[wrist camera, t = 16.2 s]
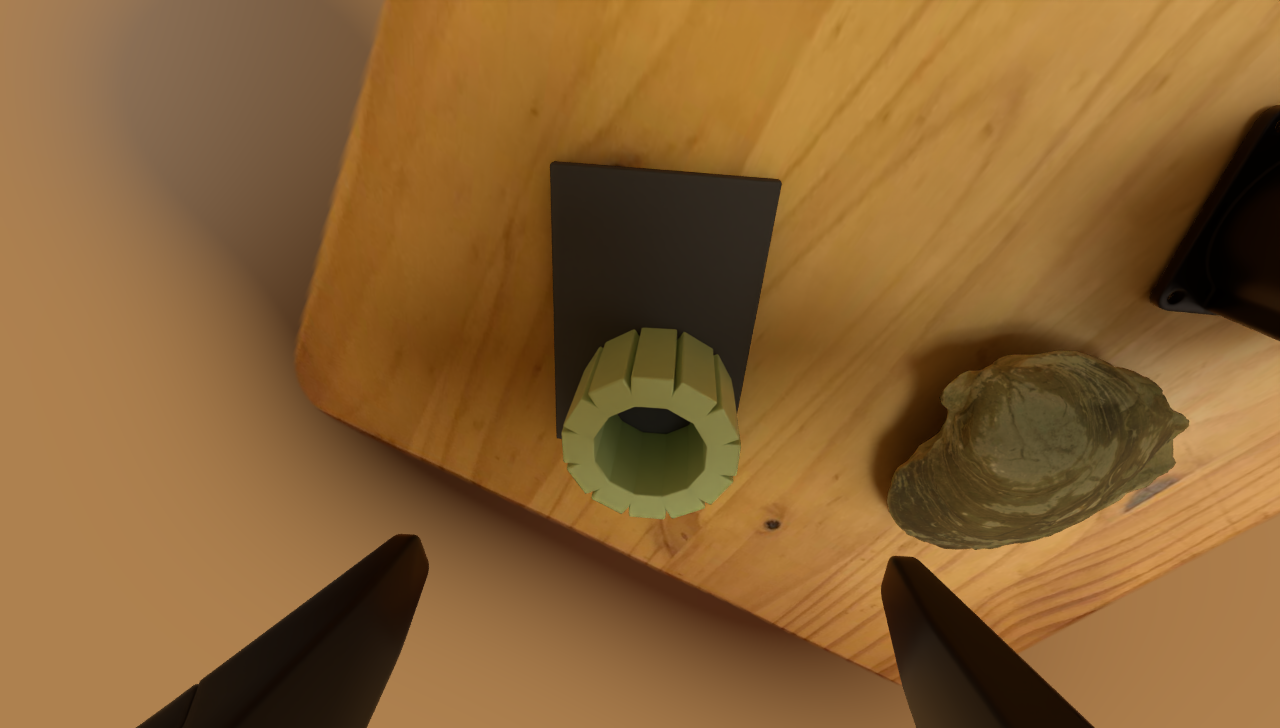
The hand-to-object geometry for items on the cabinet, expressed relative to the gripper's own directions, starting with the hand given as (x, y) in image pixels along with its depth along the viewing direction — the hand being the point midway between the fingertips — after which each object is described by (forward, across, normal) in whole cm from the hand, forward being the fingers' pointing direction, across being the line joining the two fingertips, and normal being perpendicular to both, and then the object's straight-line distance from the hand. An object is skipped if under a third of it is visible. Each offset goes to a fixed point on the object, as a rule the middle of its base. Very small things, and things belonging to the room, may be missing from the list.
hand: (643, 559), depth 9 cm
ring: (+12, +1, +4) cm, 12 cm away
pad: (+12, +1, +1) cm, 12 cm away
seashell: (+12, -14, +6) cm, 19 cm away
